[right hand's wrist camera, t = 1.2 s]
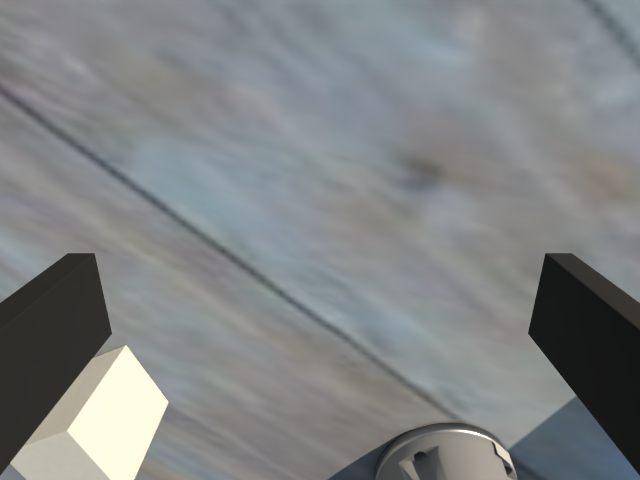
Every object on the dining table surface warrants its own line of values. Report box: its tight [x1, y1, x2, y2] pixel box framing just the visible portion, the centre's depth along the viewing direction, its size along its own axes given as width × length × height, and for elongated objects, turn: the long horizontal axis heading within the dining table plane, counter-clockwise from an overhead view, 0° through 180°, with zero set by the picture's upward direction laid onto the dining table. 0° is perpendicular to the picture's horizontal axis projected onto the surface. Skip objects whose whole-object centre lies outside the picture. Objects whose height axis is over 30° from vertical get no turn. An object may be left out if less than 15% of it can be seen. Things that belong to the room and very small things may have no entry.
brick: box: [10, 345, 168, 480], centre depth 38 cm, size 6×8×10 cm
